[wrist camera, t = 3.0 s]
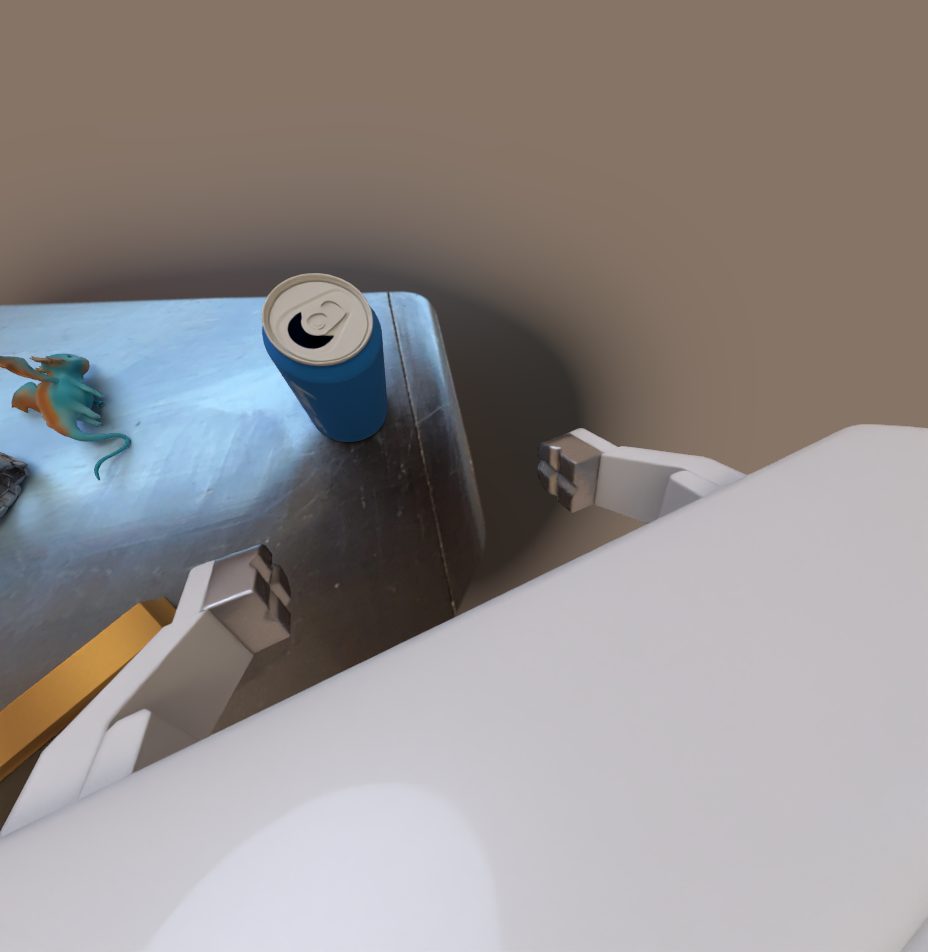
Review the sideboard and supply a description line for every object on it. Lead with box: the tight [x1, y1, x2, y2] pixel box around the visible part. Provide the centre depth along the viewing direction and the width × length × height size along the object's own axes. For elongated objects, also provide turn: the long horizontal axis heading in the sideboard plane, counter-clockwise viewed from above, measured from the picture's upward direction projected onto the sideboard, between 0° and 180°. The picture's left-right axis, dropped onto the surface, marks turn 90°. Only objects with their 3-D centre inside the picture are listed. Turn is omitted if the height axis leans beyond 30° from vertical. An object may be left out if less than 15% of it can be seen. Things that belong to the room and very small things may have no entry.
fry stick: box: [0, 598, 176, 781], centre depth 20 cm, size 15×2×2 cm, turn 135°
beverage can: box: [262, 273, 388, 442], centre depth 23 cm, size 6×6×12 cm
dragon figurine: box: [0, 354, 130, 480], centre depth 24 cm, size 6×7×8 cm
